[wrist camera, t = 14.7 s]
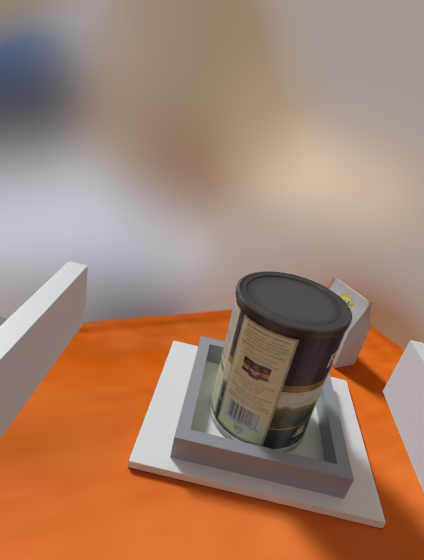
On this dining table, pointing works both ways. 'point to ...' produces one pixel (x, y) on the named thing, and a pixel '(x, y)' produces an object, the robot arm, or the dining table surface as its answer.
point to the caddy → (252, 458)
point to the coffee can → (276, 358)
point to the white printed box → (351, 324)
